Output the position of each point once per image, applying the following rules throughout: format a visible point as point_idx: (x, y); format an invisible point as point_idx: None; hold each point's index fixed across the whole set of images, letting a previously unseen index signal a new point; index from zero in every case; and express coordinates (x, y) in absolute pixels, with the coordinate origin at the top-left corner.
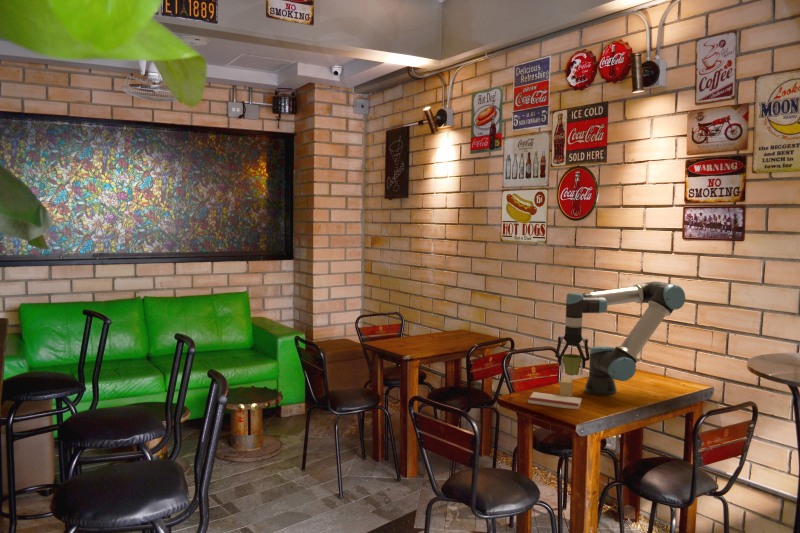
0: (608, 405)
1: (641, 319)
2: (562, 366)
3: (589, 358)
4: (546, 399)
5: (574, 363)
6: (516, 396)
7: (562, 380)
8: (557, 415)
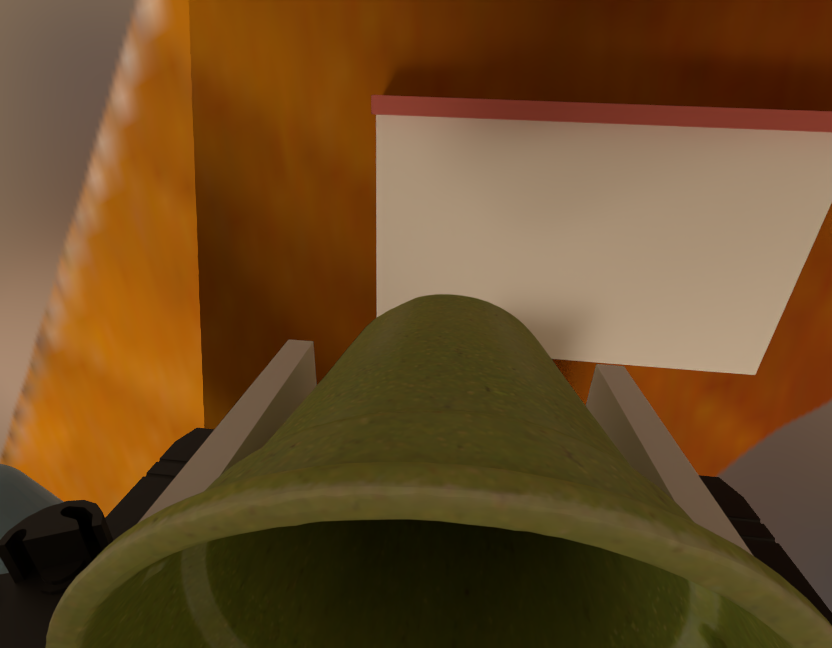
0: (204, 306)
1: None
2: (643, 441)
3: None
4: (687, 115)
5: (346, 400)
6: None
7: None
8: None
